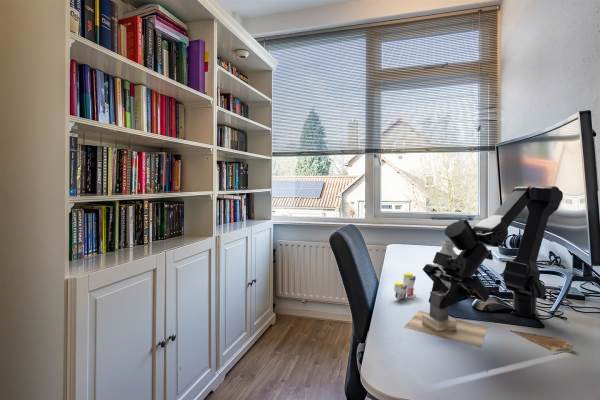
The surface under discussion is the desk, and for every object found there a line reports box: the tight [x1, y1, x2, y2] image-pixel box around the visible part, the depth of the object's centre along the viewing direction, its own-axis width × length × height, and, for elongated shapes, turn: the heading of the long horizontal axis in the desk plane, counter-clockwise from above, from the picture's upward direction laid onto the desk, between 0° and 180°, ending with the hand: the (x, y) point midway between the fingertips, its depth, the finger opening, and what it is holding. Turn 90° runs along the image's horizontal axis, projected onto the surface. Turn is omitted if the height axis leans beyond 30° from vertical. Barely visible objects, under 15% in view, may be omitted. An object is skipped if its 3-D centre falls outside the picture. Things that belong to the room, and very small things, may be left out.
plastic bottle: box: [437, 240, 457, 294], centre depth 106 cm, size 6×7×20 cm
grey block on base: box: [422, 290, 457, 333], centre depth 85 cm, size 6×6×9 cm
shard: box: [509, 329, 575, 355], centre depth 78 cm, size 11×8×2 cm
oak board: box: [403, 310, 489, 348], centre depth 85 cm, size 14×18×1 cm
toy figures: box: [393, 272, 417, 301], centre depth 109 cm, size 12×4×8 cm, turn 134°
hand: (435, 305), depth 85 cm, fingers closed on grey block on base, 3 cm apart
